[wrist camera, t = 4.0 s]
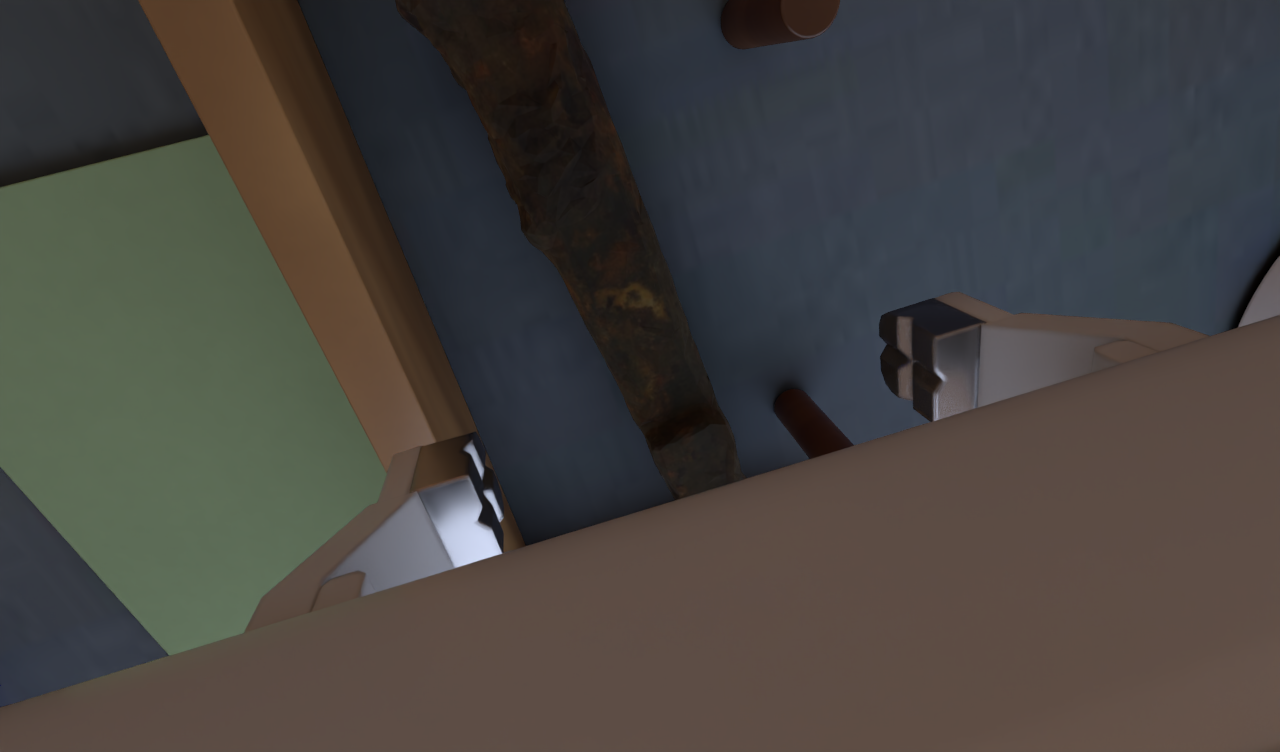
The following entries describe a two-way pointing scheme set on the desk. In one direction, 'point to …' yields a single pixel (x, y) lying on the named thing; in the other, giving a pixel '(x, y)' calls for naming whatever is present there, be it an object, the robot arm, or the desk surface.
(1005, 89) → the desk surface
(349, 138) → the tool rack
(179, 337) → the mat
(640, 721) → the robot arm
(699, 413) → the hand tool
